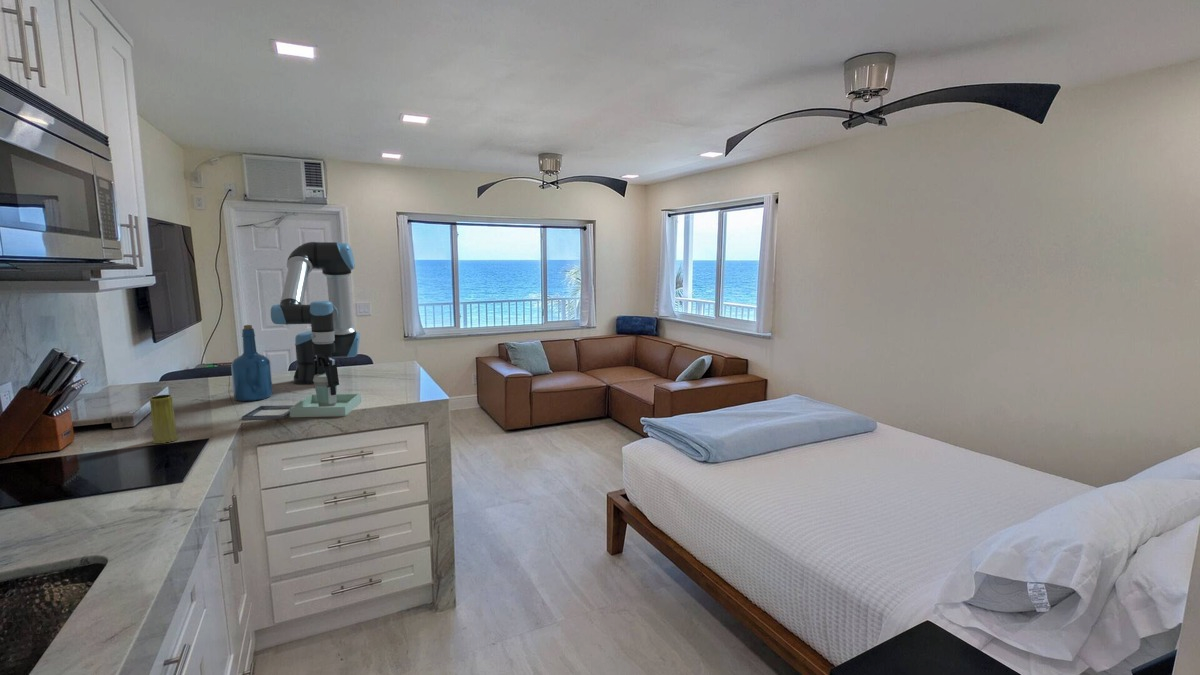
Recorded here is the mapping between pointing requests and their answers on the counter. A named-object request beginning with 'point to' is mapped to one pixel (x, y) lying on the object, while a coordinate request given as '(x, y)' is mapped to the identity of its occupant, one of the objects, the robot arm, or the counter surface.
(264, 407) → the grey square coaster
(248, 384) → the wine bottle
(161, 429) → the vase
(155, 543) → the counter surface
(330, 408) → the bin
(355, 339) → the robot arm
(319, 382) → the coffee cup
